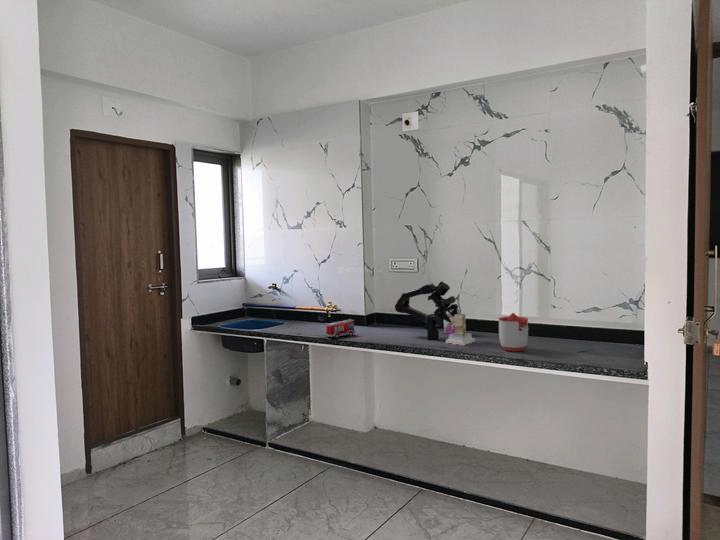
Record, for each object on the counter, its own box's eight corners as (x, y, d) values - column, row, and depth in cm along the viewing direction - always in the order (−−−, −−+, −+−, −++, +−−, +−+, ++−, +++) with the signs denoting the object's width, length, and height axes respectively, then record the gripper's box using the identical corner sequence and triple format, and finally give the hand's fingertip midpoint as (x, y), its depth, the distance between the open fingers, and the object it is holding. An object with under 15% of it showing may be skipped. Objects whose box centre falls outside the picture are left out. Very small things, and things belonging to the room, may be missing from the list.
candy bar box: (443, 333, 351) (442, 308, 350) (449, 332, 354) (448, 307, 353) (455, 335, 342) (455, 309, 341) (461, 334, 345) (461, 308, 344)
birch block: (461, 336, 318) (461, 315, 317) (454, 336, 321) (454, 314, 320) (465, 335, 321) (465, 314, 320) (459, 334, 324) (458, 313, 323)
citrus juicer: (515, 354, 286) (515, 316, 285) (492, 349, 301) (492, 312, 300) (537, 350, 293) (537, 313, 292) (513, 345, 309) (513, 310, 307)
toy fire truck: (357, 335, 354) (356, 320, 353) (331, 339, 344) (330, 323, 344) (349, 333, 362) (349, 318, 361) (324, 337, 352) (324, 322, 351)
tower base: (463, 345, 313) (463, 336, 312) (445, 343, 321) (445, 334, 321) (474, 341, 322) (474, 333, 321) (457, 339, 330) (456, 331, 329)
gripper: (437, 293, 318) (454, 314, 312) (455, 290, 332) (471, 309, 325) (426, 306, 324) (442, 326, 317) (444, 302, 338) (460, 321, 331)
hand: (454, 320), depth 323 cm, fingers open, 9 cm apart
